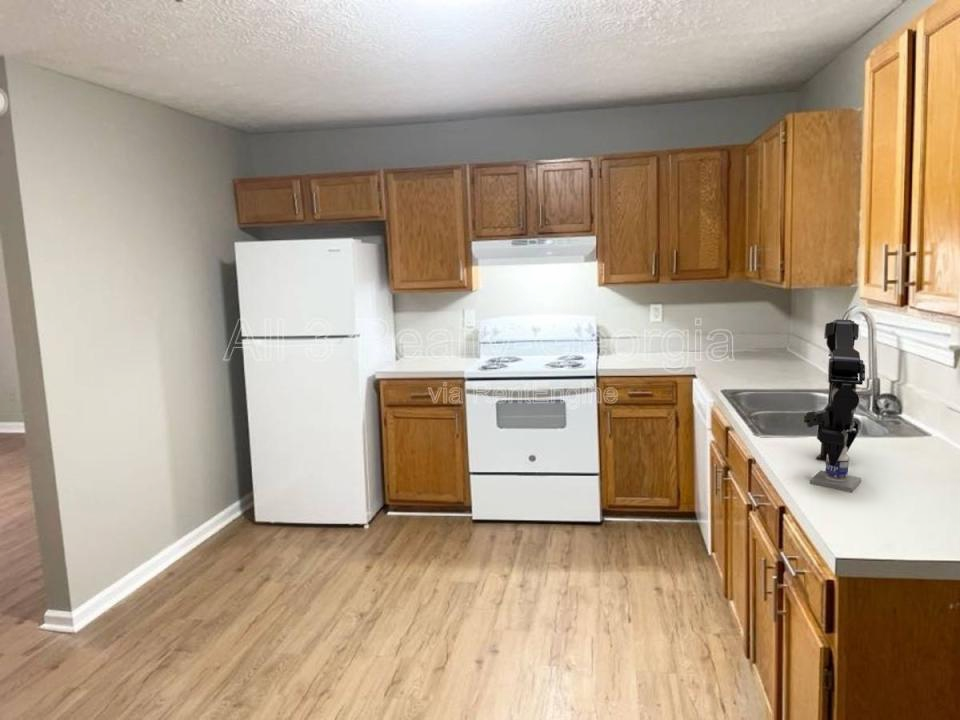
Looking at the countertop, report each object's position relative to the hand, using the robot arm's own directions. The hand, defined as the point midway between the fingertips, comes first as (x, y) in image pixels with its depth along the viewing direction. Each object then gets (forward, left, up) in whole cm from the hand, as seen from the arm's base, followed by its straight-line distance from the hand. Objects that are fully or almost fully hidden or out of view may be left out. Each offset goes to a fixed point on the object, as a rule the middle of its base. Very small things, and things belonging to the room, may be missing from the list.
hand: (837, 461), depth 185 cm
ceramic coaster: (0, 0, -6) cm, 6 cm away
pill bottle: (0, 0, -5) cm, 5 cm away
